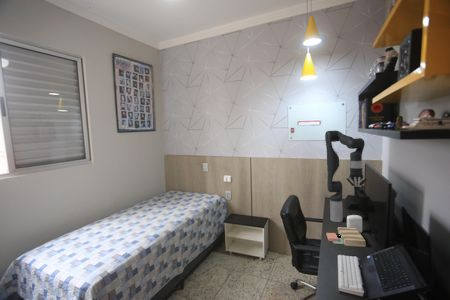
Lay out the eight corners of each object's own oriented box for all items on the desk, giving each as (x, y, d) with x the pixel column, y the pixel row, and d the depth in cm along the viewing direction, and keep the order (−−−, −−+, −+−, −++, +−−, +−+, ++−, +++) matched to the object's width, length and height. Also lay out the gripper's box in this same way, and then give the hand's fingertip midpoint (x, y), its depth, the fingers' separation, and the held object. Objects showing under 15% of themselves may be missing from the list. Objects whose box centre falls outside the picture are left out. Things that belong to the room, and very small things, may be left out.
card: (335, 233, 161) (335, 235, 161) (326, 232, 163) (326, 235, 163) (338, 238, 153) (338, 241, 153) (328, 238, 154) (329, 241, 154)
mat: (329, 234, 165) (329, 233, 165) (338, 234, 163) (338, 234, 163) (333, 243, 152) (333, 243, 152) (343, 244, 150) (343, 243, 150)
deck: (337, 232, 167) (337, 227, 167) (355, 233, 164) (355, 227, 164) (344, 245, 148) (344, 239, 148) (365, 246, 145) (365, 240, 145)
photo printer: (360, 230, 168) (360, 214, 168) (363, 232, 164) (363, 216, 163) (346, 230, 170) (345, 214, 169) (348, 232, 166) (347, 216, 165)
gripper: (364, 166, 159) (365, 190, 160) (344, 166, 162) (344, 190, 164) (368, 167, 152) (369, 193, 153) (347, 168, 155) (347, 192, 156)
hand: (356, 191), depth 158 cm, fingers closed
